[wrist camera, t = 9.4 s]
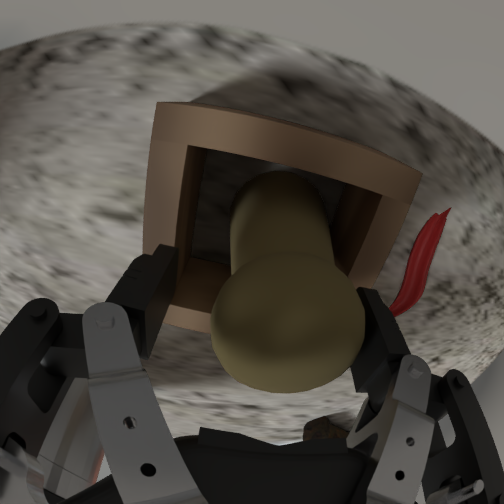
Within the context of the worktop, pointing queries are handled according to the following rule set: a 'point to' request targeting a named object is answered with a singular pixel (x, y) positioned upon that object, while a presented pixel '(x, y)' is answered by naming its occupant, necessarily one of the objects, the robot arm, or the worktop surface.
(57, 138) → the worktop surface
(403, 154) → the worktop surface
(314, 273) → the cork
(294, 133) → the walnut collar
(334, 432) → the hand tool
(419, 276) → the cayenne pepper
